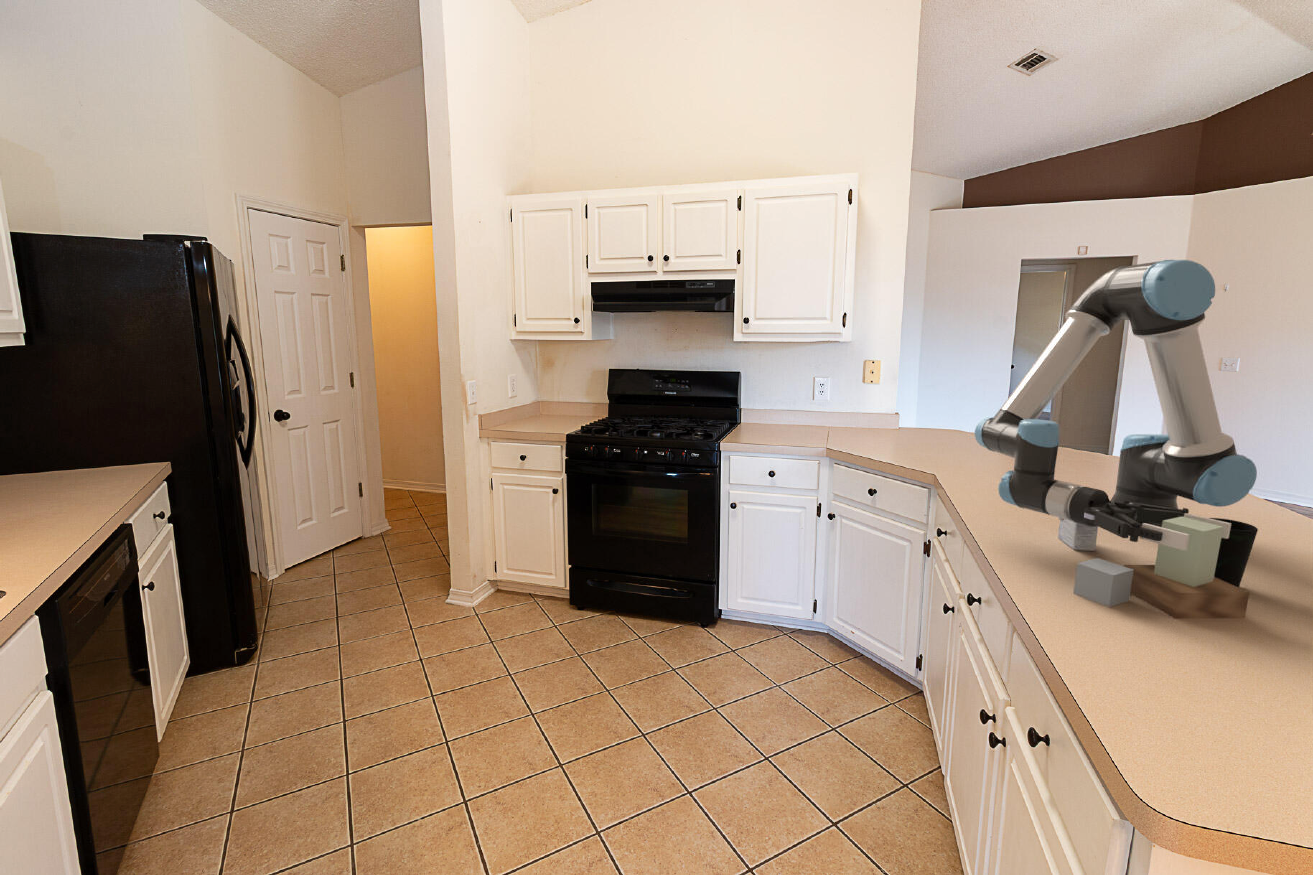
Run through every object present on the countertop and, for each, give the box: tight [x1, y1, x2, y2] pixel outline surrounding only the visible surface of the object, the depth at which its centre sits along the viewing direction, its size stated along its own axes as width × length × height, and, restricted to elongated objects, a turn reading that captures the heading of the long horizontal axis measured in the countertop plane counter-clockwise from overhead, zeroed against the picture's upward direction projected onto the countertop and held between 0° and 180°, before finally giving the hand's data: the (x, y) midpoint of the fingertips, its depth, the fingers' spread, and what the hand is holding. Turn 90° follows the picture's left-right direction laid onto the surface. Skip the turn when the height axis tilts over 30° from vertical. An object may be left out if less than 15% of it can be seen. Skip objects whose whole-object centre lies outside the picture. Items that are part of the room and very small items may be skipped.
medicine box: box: [1057, 519, 1099, 552], centre depth 135 cm, size 8×4×9 cm, turn 168°
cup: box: [1209, 517, 1259, 588], centre depth 114 cm, size 8×8×12 cm
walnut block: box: [1122, 564, 1251, 619], centre depth 107 cm, size 12×12×5 cm
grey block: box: [1073, 557, 1134, 608], centre depth 109 cm, size 6×6×6 cm
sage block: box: [1154, 517, 1223, 587], centre depth 106 cm, size 6×6×10 cm
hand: (1208, 536), depth 103 cm, fingers open, 13 cm apart
